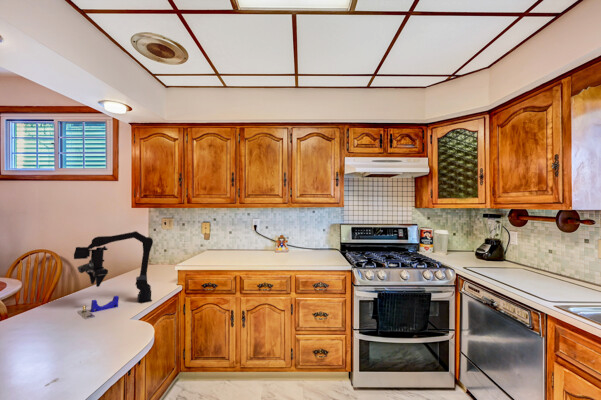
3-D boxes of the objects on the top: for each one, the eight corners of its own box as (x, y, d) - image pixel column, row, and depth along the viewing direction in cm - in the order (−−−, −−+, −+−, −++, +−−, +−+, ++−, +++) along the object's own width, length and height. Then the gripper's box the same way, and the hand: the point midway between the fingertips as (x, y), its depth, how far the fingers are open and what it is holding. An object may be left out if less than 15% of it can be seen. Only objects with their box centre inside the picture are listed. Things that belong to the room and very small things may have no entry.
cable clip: (114, 305, 155) (115, 295, 155) (117, 307, 152) (118, 296, 152) (89, 310, 145) (90, 299, 145) (92, 312, 142) (93, 301, 143)
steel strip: (86, 310, 146) (87, 303, 146) (94, 316, 136) (95, 309, 136) (77, 311, 143) (77, 304, 143) (85, 319, 133) (85, 311, 133)
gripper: (74, 258, 152) (72, 285, 151) (84, 261, 141) (82, 291, 140) (98, 256, 161) (96, 282, 160) (109, 259, 150) (107, 287, 149)
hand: (95, 285), depth 152 cm, fingers open, 9 cm apart
